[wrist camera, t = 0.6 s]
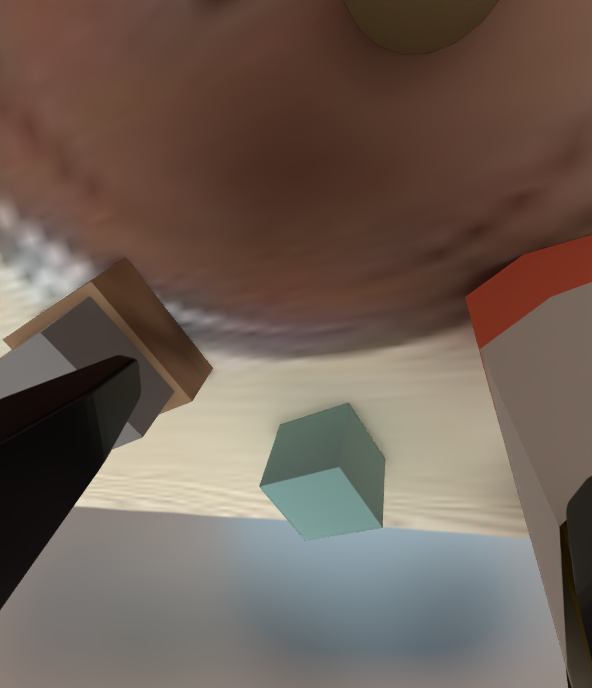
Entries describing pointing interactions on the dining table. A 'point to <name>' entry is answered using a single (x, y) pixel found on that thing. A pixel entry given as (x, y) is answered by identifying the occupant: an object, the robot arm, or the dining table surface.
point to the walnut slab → (136, 328)
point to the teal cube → (326, 474)
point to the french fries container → (544, 408)
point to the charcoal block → (83, 361)
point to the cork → (417, 22)
